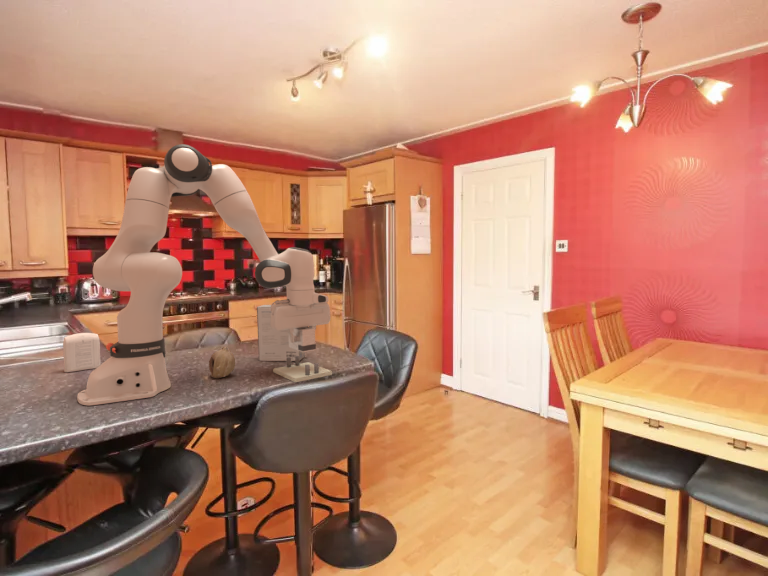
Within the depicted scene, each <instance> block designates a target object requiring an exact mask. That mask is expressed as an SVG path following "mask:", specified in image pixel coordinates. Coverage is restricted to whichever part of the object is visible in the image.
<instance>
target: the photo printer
mask: <svg viewBox="0 0 768 576" xmlns="http://www.w3.org/2000/svg"><path fill="white" fill-rule="evenodd" d="M62 348H63V349H62V350H63V354H62V355H63V372H64V373H73V372H80V371H86V370H92V369H93V370H95V369H96V368H97V367H99V366H100V365H101V364H102V363H101V343H100V337H99V334H97V333H93V332H79V333H74V334H70V335H68V336H65V337H64V338H63V341H62Z"/></svg>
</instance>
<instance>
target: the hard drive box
mask: <svg viewBox="0 0 768 576" xmlns="http://www.w3.org/2000/svg"><path fill="white" fill-rule="evenodd" d="M271 305H272V304H262V305H259V306H256V318H257V319H256V320H257V343H258V344H257V349H258V362H259V361H260V362H262V361H263V362H287V361H286V358H289V357H290V358H291V362H295V356H299V362H300V361H301V360H303V359H304V358H305V357H306V355H305V353H306V352H300V351H298V350H295V349H292V348H289V335H288V333H287V330H279V331H276V330H273V329H272V328H271V326H270V322H271Z"/></svg>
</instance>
